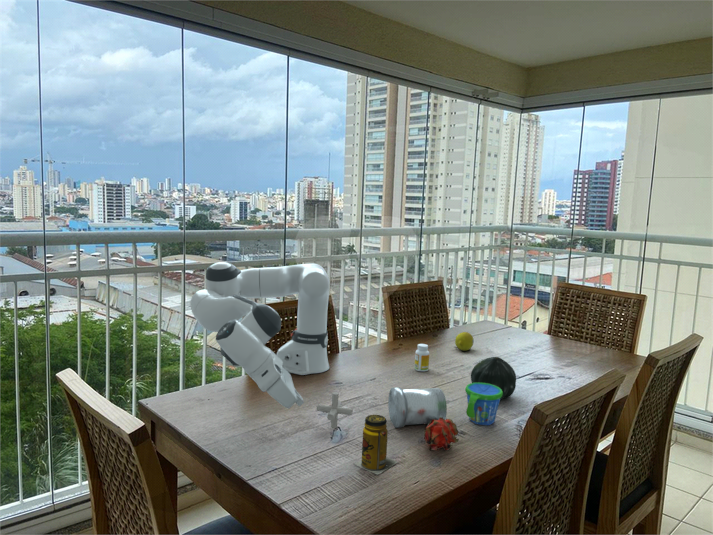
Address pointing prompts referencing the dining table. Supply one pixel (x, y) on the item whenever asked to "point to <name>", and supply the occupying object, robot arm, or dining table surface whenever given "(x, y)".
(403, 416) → the white flanged cylinder
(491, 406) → the snack cup
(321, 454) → the dining table surface
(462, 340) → the lemon
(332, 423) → the pipe connector
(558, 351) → the dining table surface
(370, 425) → the condiment
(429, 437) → the dragon fruit
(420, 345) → the supplement bottle
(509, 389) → the squash
